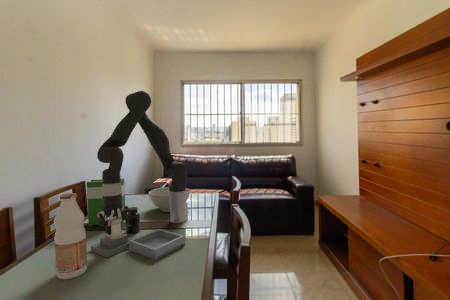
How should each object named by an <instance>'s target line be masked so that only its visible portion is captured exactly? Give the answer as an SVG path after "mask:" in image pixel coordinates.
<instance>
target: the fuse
mask: <svg viewBox="0 0 450 300" xmlns="http://www.w3.org/2000/svg"><path fill="white" fill-rule="evenodd" d="M110 226H111V235H108V234H107V233H106V235H107V238H108V239H111V240H113V239H115V238H118V237H121V233H122V229H121V219H120V218H115V217H114V218H112V221H111V224H110Z"/></svg>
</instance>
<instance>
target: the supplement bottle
mask: <svg viewBox="0 0 450 300" xmlns="http://www.w3.org/2000/svg"><path fill="white" fill-rule="evenodd" d="M138 211H139V209H138V207H137V206H130V207H128V211H127V216H126V219H125V234H127V235H129V234H130V235H132V234H137V233H140V231H141V215H140V213H139V212H138Z"/></svg>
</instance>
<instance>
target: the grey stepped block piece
mask: <svg viewBox="0 0 450 300" xmlns="http://www.w3.org/2000/svg"><path fill="white" fill-rule="evenodd" d="M132 239H133V238H130V237H129V234H127V233H122V232H121V237H118V238H115V239H113V240H111V239H108V238H107V234H106V235H103V236H100V237H99V242H98V243H94V244H92V245H90V251H91V252H93V253H96V254H98V255H100V256H103V257H104V258H110V257H112V256H114V255H117V254H119V253H121V252H123V251H126V250H129V241H130V240H132Z"/></svg>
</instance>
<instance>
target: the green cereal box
mask: <svg viewBox="0 0 450 300" xmlns="http://www.w3.org/2000/svg"><path fill="white" fill-rule="evenodd" d="M120 181H121V189H122V206H126V190H125V189H126V188H125V186H126V185H125V184H126V183H125V178H120ZM85 183H86V199H87V200H86V203H87V220H88V223H87V224H88V227H93V226H92V225H99V226H101V225H100V222H99V220H98V218H97V215H96V214H97V213H100V212H101V211H103V208H104V206H103V195H102V186H103V181H102V179H91V180H90V181H86V182H85ZM121 212H122V210H121V211H120V213H121ZM105 216H106V215H105V214H104V220H105ZM114 217H115V216H114ZM114 217H113V218H114ZM124 221H125V222H126V220H123V221H122V225H123V224H124V223H125V222H124Z"/></svg>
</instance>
